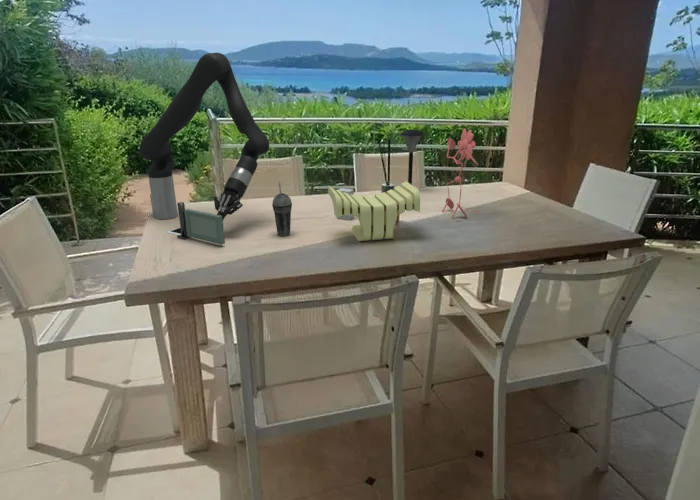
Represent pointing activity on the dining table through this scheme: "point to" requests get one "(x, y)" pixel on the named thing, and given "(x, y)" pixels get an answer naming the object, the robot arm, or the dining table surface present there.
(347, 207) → the slatted curved stool
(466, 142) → the figurine
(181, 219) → the post
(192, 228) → the green rectangular panel
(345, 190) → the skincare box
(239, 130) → the robot arm
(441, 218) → the dining table surface
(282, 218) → the beverage cup
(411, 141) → the solar garden light
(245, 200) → the dining table surface
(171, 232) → the cell phone
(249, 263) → the dining table surface
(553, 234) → the dining table surface
